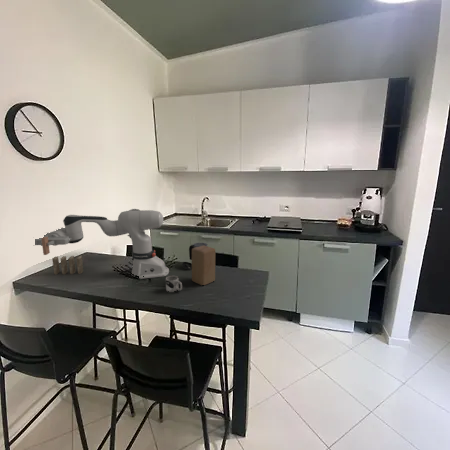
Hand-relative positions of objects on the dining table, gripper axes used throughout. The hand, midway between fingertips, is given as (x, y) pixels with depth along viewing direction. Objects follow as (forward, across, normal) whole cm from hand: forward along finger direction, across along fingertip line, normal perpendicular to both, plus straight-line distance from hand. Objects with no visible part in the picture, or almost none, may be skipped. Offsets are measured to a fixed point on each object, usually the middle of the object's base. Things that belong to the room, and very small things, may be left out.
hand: (44, 244), depth 164 cm
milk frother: (-4, -88, -19) cm, 90 cm away
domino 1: (-1, 0, -6) cm, 6 cm away
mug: (+29, -76, -19) cm, 84 cm away
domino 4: (-1, -14, -18) cm, 23 cm away
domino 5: (-1, -18, -18) cm, 26 cm away
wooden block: (+19, -92, -19) cm, 96 cm away
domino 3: (-1, -9, -18) cm, 21 cm away
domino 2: (-1, -4, -18) cm, 19 cm away
